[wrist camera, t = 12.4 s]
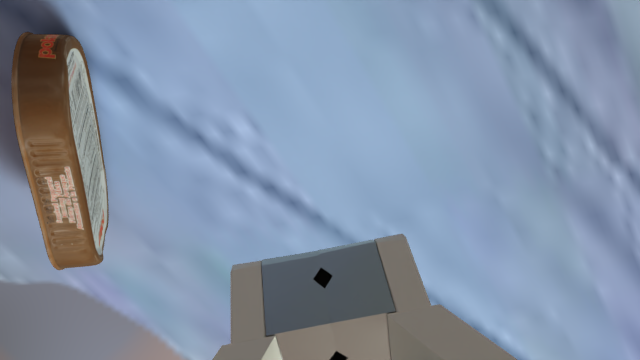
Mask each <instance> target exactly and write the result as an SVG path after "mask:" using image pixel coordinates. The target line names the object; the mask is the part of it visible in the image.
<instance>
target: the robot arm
mask: <svg viewBox="0 0 640 360" xmlns="http://www.w3.org/2000/svg"><path fill="white" fill-rule="evenodd" d="M213 360H517V359H516V358H514V357H513V356H512V355H510V354H509V353H507V352H506V351H505V350H503V349H502V348H500V347H499V346H498V345H496V344H495V343H493V342H492V341H491V340H489V339H488V338H486V337H485V336H484V335H482V334H481V333H479V332H478V331H477V330H475V329H474V328H472V327H471V326H470V325H468V324H467V323H465V322H464V321H463V320H461V319H460V318H458V317H457V316H456V315H454V314H453V313H451V312H450V311H449V310H447V309H446V308H444V307H443V306H442V305H440V304H439V305H433V306H431V304H430V301H429V299H428V296H427V293H426V290H425V288H424V285H423V282H422V280H421V277H420V274H419V272H418V269H417V266H416V263H415V261H414V258H413V255H412V253H411V250H410V247H409V244H408V242H407V239H406V237H405V236H404V235H403V234H398V235H393V236H388V237H383V238H378V239H374V240H368V241H363V242H358V243H353V244H348V245H342V246H337V247H332V248H327V249H322V250H318V251H313V252H307V253H301V254H295V255H289V256H283V257H276V258H270V259H264V260H262V261H256V262H249V263H243V264H237V265H233V266H232V270H231V344H227V345H223V346H221V348H220V349H219V351H218V352H217V354H216V355H215V357H214V358H213Z"/></svg>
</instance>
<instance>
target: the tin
mask: <svg viewBox="0 0 640 360" xmlns="http://www.w3.org/2000/svg"><path fill="white" fill-rule="evenodd" d="M11 86H12V103H13V115H14V122H15V128H16V134H17V139H18V143H19V148H20V152H21V155H22V159H23V163H24V167H25V170H26V174H27V178H28V182H29V186H30V189H31V193H32V197H33V200H34V204H35V208H36V212H37V216H38V220H39V224H40V228H41V231H42V235H43V239H44V243H45V247H46V251H47V254H48V257H49V260H50V261H51V263H52V265H53V267H54V268H56V269H57V270H62V269H64V268H72V267H83V266H92V265H97V264H99V263H101V262H102V261H103V247H104V240H105V233H106V230H107V227H108V192H107V181H106V173H105V166H104V160H103V153H102V146H101V139H100V132H99V126H98V120H97V113H96V108H95V102H94V96H93V91H92V85H91V79H90V74H89V70H88V65H87V61H86V58H85V54H84V51H83V48H82V46H81V44H80V42H79V41H78V40H77V39H76V38H75V37H73V36H70V35H60V34H33V33H30V32H25V33H23V34H22V35H21V36H20V37H19V39H18V41H17V44H16V47H15V50H14V57H13V65H12V78H11Z"/></svg>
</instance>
